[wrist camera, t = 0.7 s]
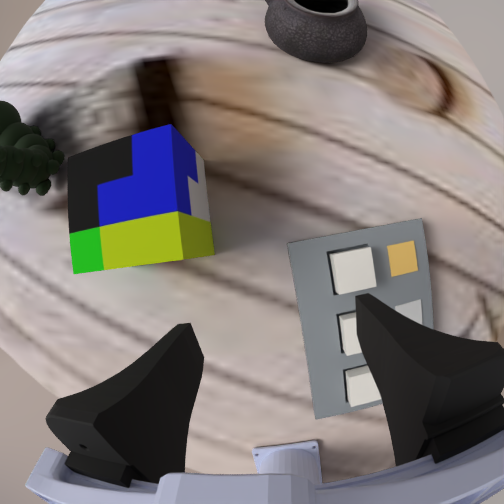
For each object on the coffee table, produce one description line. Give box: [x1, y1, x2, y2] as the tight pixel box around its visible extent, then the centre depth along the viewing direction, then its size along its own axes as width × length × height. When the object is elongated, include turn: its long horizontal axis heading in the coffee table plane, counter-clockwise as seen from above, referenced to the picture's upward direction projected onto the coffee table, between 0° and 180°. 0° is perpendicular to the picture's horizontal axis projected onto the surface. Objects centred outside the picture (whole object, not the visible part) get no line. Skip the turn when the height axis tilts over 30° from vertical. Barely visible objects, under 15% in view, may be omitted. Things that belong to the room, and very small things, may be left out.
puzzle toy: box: [68, 124, 215, 274], centre depth 25 cm, size 10×10×10 cm
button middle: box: [339, 312, 362, 356], centre depth 26 cm, size 4×4×2 cm
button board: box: [287, 218, 433, 419], centre depth 27 cm, size 19×14×2 cm
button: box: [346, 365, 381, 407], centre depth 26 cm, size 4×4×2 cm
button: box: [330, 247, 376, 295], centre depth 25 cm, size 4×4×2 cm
